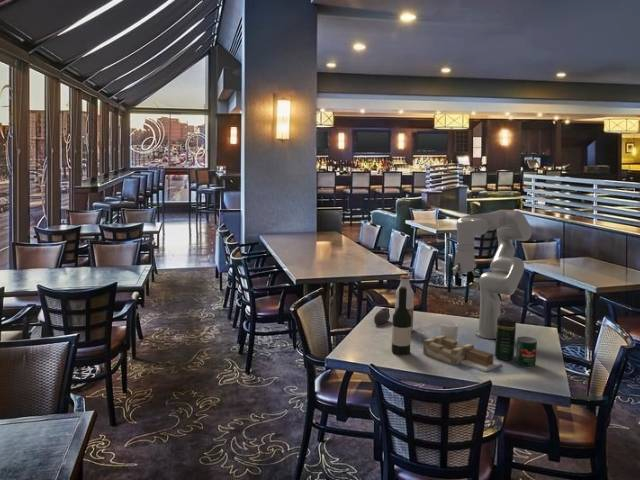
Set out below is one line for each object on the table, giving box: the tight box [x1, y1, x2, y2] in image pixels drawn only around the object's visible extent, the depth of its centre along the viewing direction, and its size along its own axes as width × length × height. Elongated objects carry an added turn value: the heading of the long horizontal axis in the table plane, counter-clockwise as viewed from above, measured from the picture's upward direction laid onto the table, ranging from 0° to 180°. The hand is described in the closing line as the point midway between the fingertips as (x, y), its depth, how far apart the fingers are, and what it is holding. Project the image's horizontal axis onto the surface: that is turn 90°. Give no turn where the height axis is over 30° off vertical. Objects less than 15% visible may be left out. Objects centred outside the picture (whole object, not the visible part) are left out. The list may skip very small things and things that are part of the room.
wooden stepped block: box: [422, 334, 475, 366], centre depth 236 cm, size 13×17×6 cm
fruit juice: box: [394, 274, 415, 332], centre depth 271 cm, size 9×9×28 cm
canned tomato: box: [515, 336, 538, 369], centre depth 226 cm, size 8×8×11 cm
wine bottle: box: [391, 286, 412, 356], centre depth 238 cm, size 8×8×30 cm
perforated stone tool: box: [373, 307, 391, 326], centre depth 285 cm, size 15×5×7 cm, turn 145°
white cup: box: [440, 321, 459, 341], centre depth 250 cm, size 8×8×10 cm
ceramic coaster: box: [460, 359, 503, 373], centre depth 226 cm, size 12×12×1 cm
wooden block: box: [466, 348, 495, 366], centre depth 227 cm, size 5×10×4 cm, turn 40°
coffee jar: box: [494, 314, 517, 361], centre depth 234 cm, size 10×8×19 cm
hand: (464, 284), depth 244 cm, fingers open, 9 cm apart
